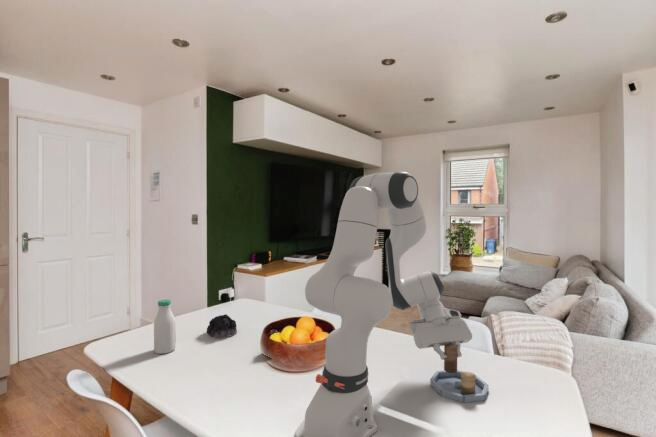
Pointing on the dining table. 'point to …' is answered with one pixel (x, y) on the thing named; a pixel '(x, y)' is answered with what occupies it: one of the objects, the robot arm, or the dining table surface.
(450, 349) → the walnut bead
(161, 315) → the milk bottle
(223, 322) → the black rock
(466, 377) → the oak bead
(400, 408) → the dining table surface
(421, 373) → the dining table surface
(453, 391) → the ring tray
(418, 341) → the robot arm
